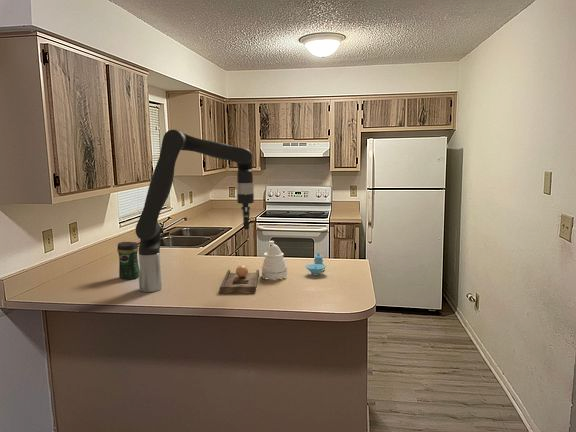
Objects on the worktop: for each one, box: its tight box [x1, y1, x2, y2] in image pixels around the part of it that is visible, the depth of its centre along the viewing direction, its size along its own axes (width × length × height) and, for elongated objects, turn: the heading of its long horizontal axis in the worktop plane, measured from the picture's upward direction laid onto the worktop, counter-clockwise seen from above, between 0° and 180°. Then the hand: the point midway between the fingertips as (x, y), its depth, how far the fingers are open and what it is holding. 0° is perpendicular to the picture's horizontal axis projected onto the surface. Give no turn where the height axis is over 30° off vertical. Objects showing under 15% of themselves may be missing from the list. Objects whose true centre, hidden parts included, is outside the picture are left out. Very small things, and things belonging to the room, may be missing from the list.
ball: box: [235, 264, 249, 277], centre depth 217 cm, size 6×6×6 cm
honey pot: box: [261, 240, 288, 279], centre depth 222 cm, size 13×13×18 cm
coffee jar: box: [117, 241, 140, 280], centre depth 222 cm, size 10×8×19 cm
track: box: [219, 269, 260, 294], centre depth 211 cm, size 16×28×3 cm, turn 1°
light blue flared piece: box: [305, 252, 327, 275], centre depth 229 cm, size 18×10×9 cm, turn 167°
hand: (246, 227), depth 203 cm, fingers open, 8 cm apart
